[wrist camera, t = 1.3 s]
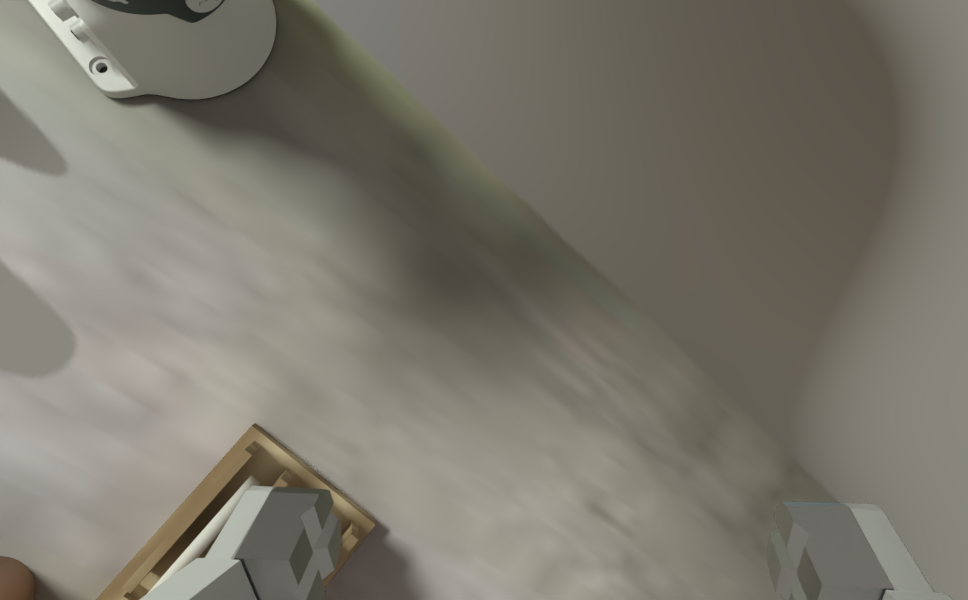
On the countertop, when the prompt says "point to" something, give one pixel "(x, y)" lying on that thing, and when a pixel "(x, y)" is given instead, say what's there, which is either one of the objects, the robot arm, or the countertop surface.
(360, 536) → the rack
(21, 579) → the peach rounded cylinder
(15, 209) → the countertop surface
